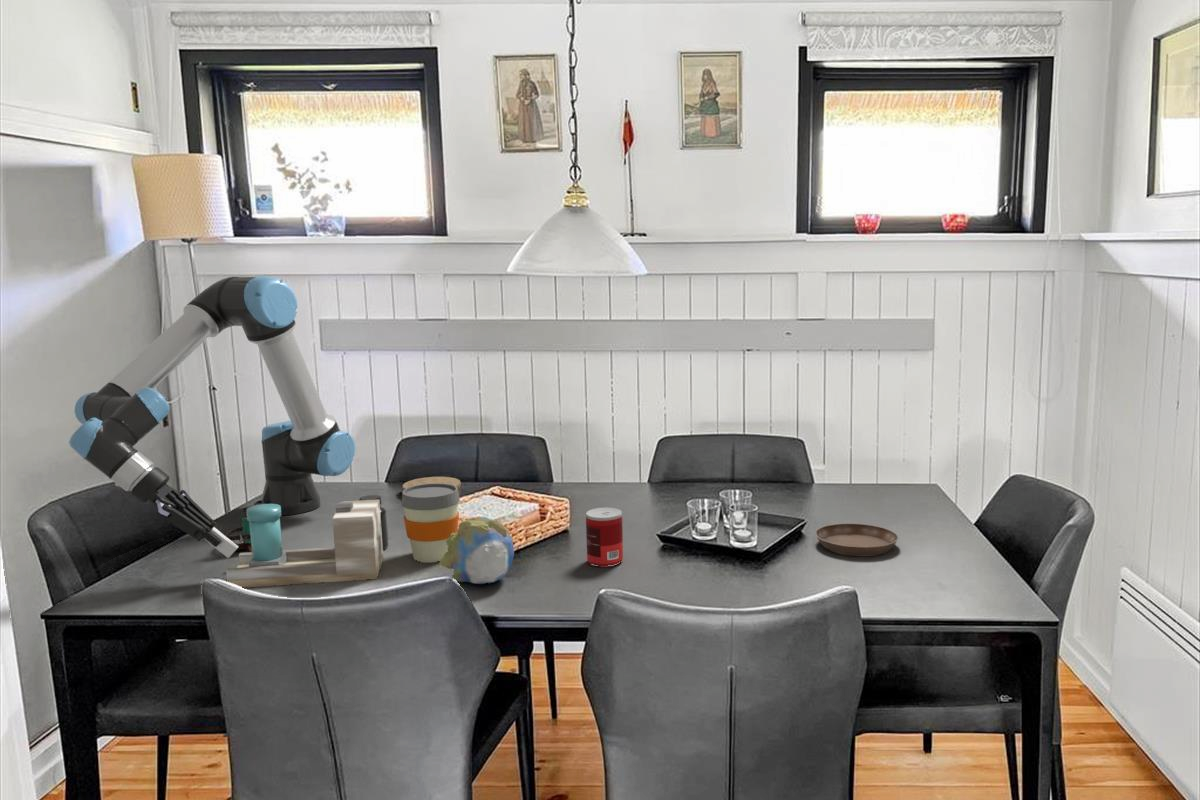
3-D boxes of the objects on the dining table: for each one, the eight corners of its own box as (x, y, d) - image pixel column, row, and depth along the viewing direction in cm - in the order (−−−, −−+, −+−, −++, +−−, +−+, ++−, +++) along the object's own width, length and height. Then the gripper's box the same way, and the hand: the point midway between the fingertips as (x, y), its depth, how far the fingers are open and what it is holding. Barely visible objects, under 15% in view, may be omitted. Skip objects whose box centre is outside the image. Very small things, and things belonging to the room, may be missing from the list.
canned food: (627, 557, 207) (626, 508, 206) (616, 569, 200) (615, 519, 198) (594, 554, 210) (593, 506, 208) (582, 566, 203) (580, 516, 201)
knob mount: (242, 567, 207) (236, 502, 205) (383, 558, 210) (379, 495, 208) (226, 588, 194) (220, 519, 192) (376, 579, 198) (372, 511, 195)
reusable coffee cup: (436, 568, 203) (432, 500, 201) (392, 559, 210) (388, 493, 207) (473, 551, 214) (470, 486, 211) (431, 543, 220) (428, 480, 218)
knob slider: (256, 562, 205) (250, 504, 202) (288, 560, 205) (283, 502, 203) (247, 574, 197) (242, 514, 195) (281, 572, 198) (276, 512, 196)
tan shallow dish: (392, 494, 265) (391, 484, 265) (440, 483, 276) (440, 473, 275) (423, 505, 254) (422, 494, 253) (472, 493, 264) (472, 483, 264)
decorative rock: (490, 517, 186) (511, 499, 200) (417, 538, 189) (443, 519, 204) (513, 584, 187) (532, 561, 201) (440, 603, 190) (464, 580, 205)
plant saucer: (833, 530, 223) (833, 518, 223) (908, 542, 213) (909, 529, 213) (802, 551, 209) (802, 538, 209) (881, 566, 199) (882, 552, 199)
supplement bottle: (395, 545, 220) (392, 494, 218) (376, 554, 214) (373, 502, 212) (371, 542, 222) (367, 492, 220) (351, 550, 216) (348, 499, 214)
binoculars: (234, 501, 225) (272, 498, 222) (242, 544, 226) (280, 541, 224) (212, 511, 216) (251, 508, 214) (220, 556, 217) (259, 553, 215)
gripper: (141, 484, 202) (229, 555, 206) (117, 501, 189) (212, 576, 194) (164, 458, 201) (253, 530, 206) (142, 473, 189) (237, 549, 193)
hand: (233, 552), depth 200 cm, fingers closed
